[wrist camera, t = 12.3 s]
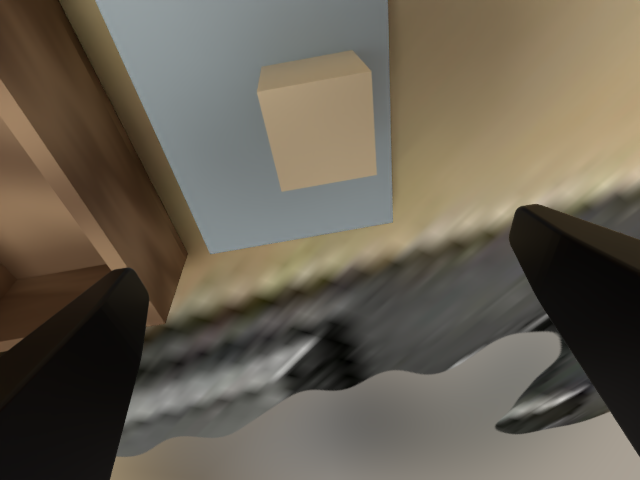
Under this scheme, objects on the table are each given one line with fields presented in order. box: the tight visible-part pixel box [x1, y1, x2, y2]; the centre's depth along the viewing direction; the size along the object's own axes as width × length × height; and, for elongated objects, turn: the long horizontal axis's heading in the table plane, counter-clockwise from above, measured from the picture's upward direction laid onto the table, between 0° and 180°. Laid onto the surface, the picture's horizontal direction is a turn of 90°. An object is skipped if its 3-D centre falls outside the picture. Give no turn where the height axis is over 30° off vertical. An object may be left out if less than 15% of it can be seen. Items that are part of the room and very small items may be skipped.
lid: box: [95, 0, 393, 254], centre depth 16 cm, size 15×11×6 cm
